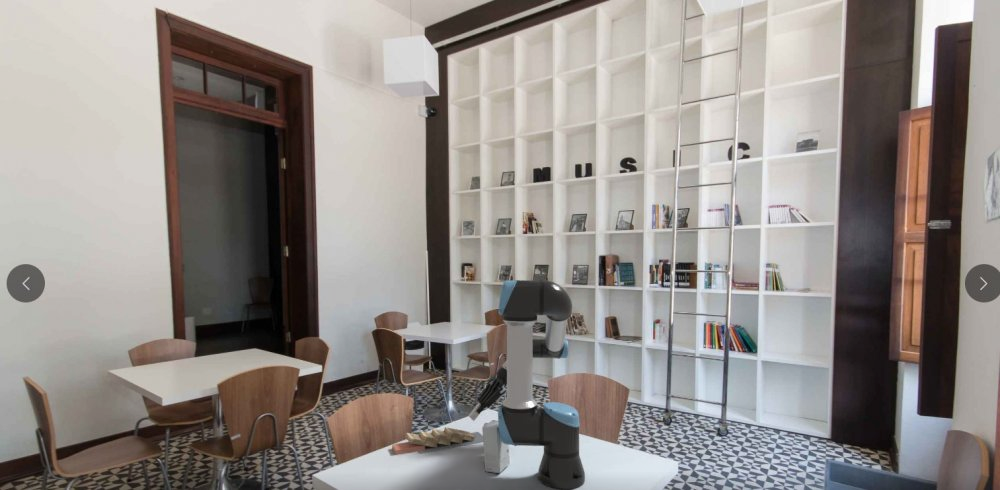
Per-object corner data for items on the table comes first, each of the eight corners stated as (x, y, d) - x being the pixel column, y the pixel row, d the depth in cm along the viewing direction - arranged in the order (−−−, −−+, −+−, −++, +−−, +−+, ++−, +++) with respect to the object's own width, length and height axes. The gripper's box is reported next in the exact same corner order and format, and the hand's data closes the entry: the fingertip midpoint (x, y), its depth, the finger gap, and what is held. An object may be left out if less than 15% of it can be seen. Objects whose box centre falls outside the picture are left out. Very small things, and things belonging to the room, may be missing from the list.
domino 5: (469, 431, 180) (445, 427, 176) (474, 437, 175) (449, 432, 170) (468, 435, 180) (443, 431, 176) (473, 441, 174) (448, 436, 170)
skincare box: (500, 474, 147) (497, 428, 148) (484, 471, 150) (481, 426, 150) (510, 463, 155) (507, 420, 155) (494, 461, 157) (492, 418, 158)
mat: (478, 432, 184) (478, 431, 184) (488, 442, 175) (488, 441, 175) (411, 443, 173) (411, 442, 173) (419, 454, 163) (419, 453, 163)
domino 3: (445, 435, 176) (420, 430, 172) (450, 441, 170) (424, 436, 166) (444, 439, 176) (418, 434, 171) (449, 445, 170) (423, 440, 166)
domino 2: (432, 437, 174) (406, 432, 169) (437, 443, 168) (410, 438, 164) (431, 441, 173) (405, 436, 169) (436, 447, 168) (409, 442, 164)
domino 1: (420, 439, 172) (392, 444, 167) (425, 445, 166) (395, 450, 161) (420, 444, 171) (392, 448, 167) (424, 449, 166) (395, 455, 161)
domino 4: (457, 433, 178) (432, 428, 174) (462, 439, 173) (437, 434, 168) (456, 437, 178) (431, 433, 173) (461, 443, 172) (435, 438, 168)
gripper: (521, 381, 181) (483, 429, 173) (507, 374, 192) (471, 419, 184) (509, 369, 179) (470, 417, 171) (496, 363, 190) (459, 407, 182)
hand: (471, 418), depth 177 cm, fingers closed
